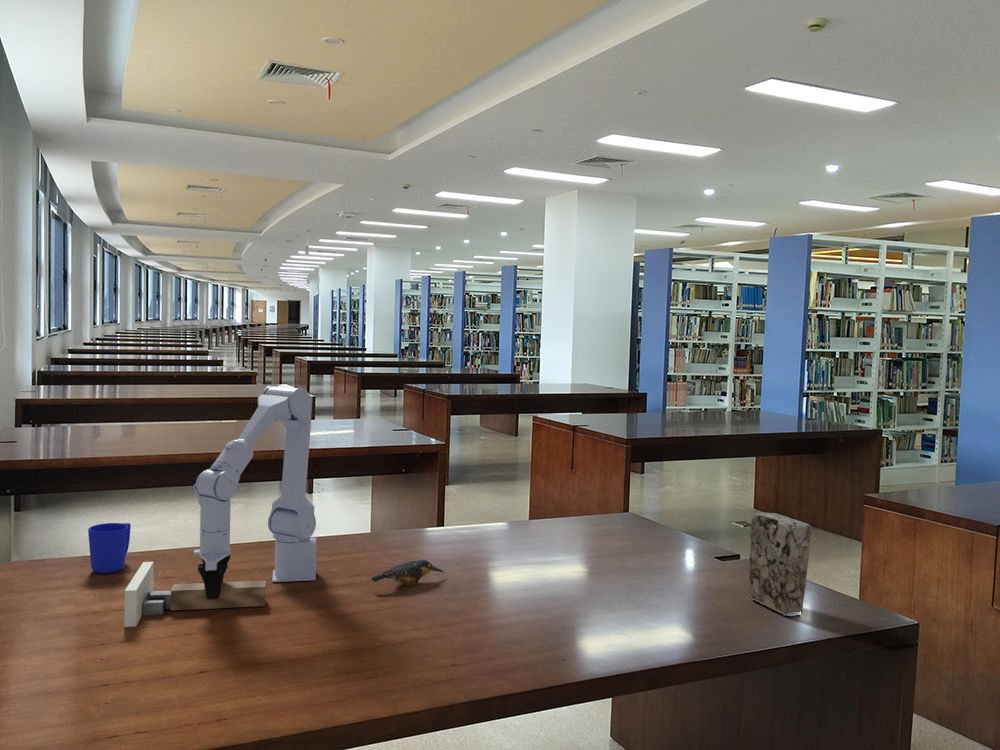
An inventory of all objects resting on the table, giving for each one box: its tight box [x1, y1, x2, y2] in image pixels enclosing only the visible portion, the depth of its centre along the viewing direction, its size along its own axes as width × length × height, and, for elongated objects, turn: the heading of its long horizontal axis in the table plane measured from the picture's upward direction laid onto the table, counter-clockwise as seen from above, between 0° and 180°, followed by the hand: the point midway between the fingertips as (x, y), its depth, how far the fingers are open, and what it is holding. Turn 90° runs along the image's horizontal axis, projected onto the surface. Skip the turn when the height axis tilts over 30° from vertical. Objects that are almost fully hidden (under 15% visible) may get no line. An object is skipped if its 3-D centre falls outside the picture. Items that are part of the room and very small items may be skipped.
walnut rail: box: [150, 580, 267, 611], centre depth 159 cm, size 22×4×4 cm, turn 104°
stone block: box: [748, 511, 812, 614], centre depth 171 cm, size 13×7×20 cm, turn 26°
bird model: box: [369, 559, 445, 586], centre depth 177 cm, size 20×5×5 cm, turn 131°
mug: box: [87, 522, 132, 574], centre depth 181 cm, size 8×12×10 cm
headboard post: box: [124, 561, 165, 628], centre depth 156 cm, size 6×18×7 cm, turn 14°
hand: (214, 594), depth 159 cm, fingers closed on walnut rail, 4 cm apart
